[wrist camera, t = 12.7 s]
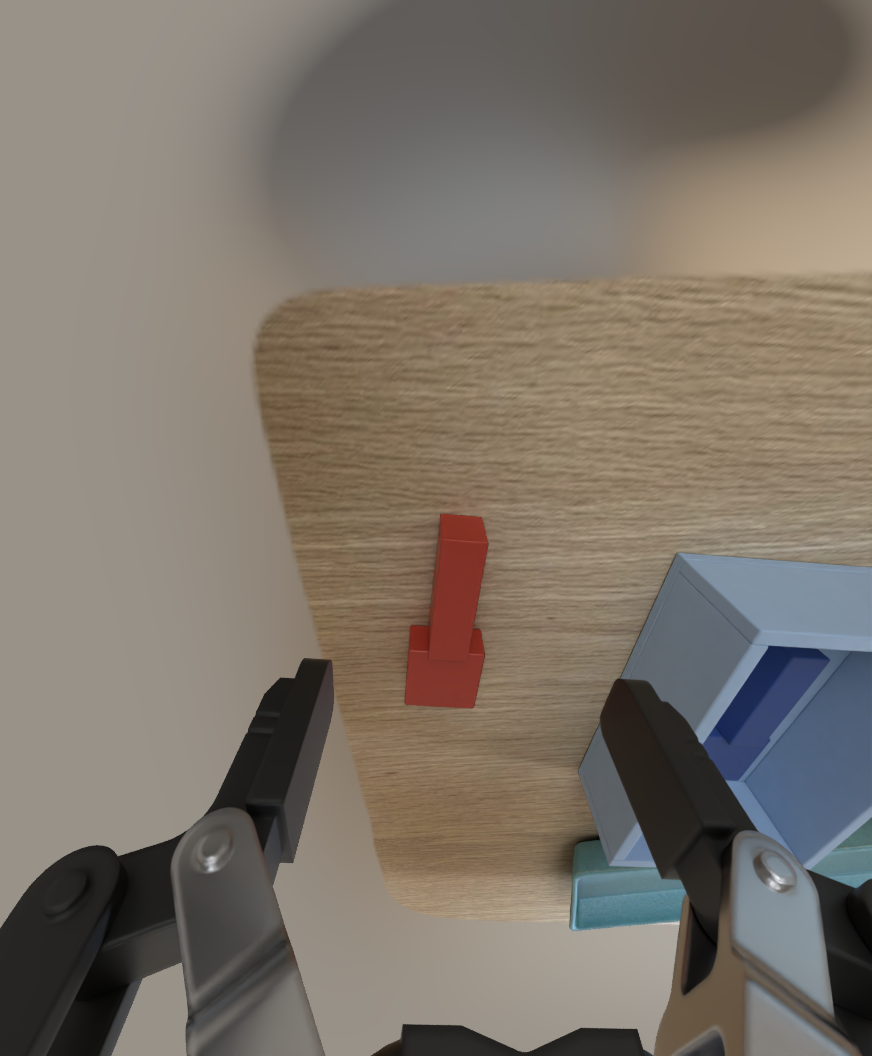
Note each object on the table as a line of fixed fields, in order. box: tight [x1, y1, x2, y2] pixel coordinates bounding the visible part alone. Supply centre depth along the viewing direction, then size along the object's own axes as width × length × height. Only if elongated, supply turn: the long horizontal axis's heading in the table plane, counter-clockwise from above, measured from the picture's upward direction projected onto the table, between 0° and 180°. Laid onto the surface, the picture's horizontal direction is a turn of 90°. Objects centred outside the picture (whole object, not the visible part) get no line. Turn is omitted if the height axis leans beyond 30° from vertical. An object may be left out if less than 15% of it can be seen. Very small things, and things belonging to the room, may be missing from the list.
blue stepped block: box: [702, 645, 830, 781], centre depth 18 cm, size 9×3×2 cm, turn 175°
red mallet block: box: [404, 514, 488, 708], centre depth 16 cm, size 9×3×2 cm, turn 175°
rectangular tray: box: [569, 817, 872, 931], centre depth 26 cm, size 26×9×2 cm, turn 98°
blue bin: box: [578, 553, 872, 870], centre depth 17 cm, size 15×10×4 cm
